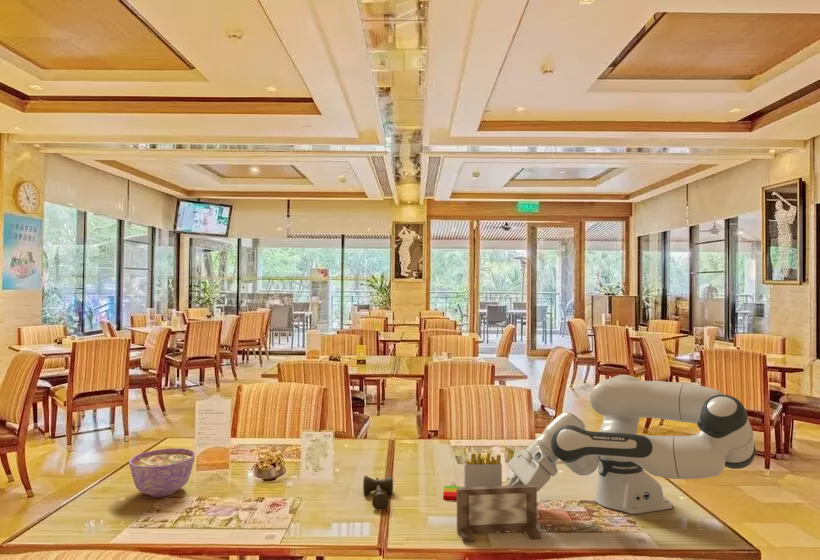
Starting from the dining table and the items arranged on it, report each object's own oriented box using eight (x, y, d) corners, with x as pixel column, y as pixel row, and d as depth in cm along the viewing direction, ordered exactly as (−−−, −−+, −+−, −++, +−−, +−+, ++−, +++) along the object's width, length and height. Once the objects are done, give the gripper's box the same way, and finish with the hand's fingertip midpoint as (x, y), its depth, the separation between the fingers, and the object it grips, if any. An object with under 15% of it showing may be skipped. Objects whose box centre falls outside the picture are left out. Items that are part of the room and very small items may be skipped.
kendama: (364, 512, 164) (362, 486, 184) (396, 512, 165) (390, 486, 185) (365, 493, 164) (363, 469, 184) (396, 492, 165) (391, 468, 185)
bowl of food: (155, 479, 191) (155, 446, 191) (207, 483, 187) (207, 449, 187) (113, 501, 171) (114, 464, 172) (170, 506, 167) (170, 468, 167)
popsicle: (442, 501, 172) (442, 495, 172) (445, 484, 187) (445, 479, 187) (460, 502, 172) (460, 496, 172) (461, 485, 186) (461, 479, 187)
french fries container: (463, 508, 165) (463, 449, 166) (499, 508, 166) (498, 449, 166) (465, 515, 161) (465, 454, 161) (501, 514, 161) (501, 453, 161)
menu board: (534, 527, 152) (534, 484, 153) (542, 539, 145) (542, 493, 146) (456, 531, 150) (456, 487, 150) (461, 543, 143) (461, 497, 143)
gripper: (522, 439, 175) (492, 471, 174) (544, 459, 155) (511, 495, 154) (535, 453, 175) (506, 485, 174) (559, 474, 155) (526, 510, 154)
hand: (508, 490), depth 164 cm, fingers closed
